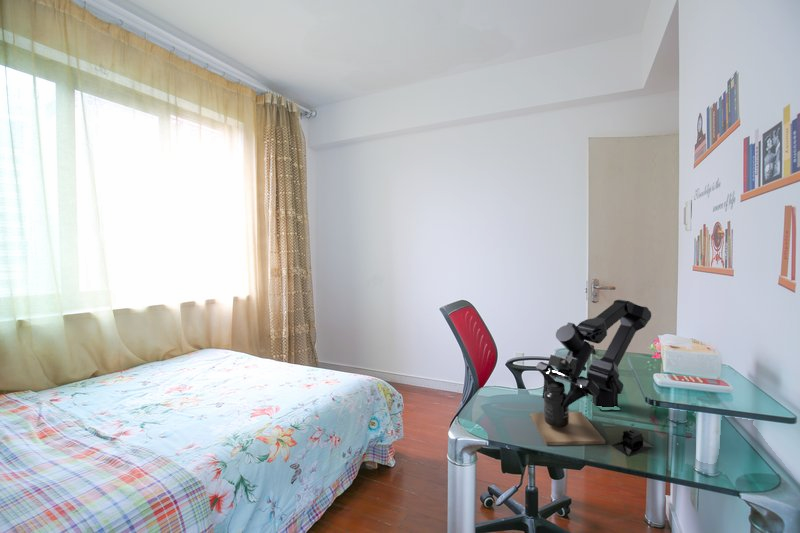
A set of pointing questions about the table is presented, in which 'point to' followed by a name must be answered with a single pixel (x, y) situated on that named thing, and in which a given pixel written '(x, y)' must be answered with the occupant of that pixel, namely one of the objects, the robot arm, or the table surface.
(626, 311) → the robot arm
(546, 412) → the supplement bottle
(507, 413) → the table surface
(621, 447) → the black block on base
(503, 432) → the table surface
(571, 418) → the board
